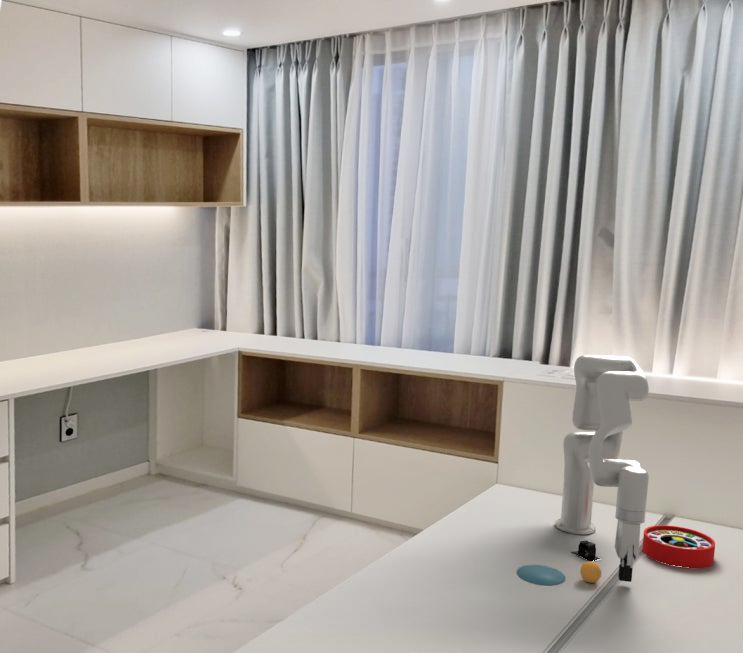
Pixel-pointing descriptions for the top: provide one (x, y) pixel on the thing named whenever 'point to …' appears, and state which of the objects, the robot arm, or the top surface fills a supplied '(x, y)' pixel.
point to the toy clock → (678, 546)
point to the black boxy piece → (586, 550)
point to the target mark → (541, 575)
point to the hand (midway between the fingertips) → (624, 579)
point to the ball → (590, 571)
